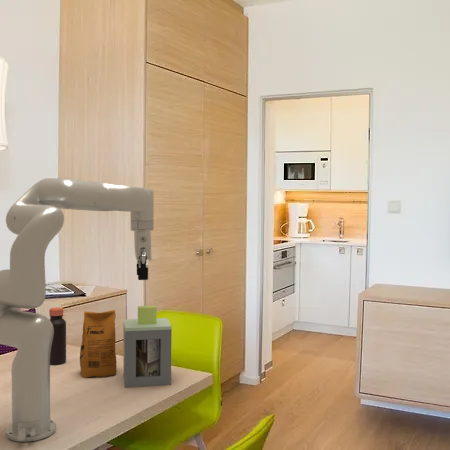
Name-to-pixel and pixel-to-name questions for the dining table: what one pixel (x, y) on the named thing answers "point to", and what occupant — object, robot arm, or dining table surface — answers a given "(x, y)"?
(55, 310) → the bottle
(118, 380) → the dining table surface
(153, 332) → the crate
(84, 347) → the coffee package
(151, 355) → the coffee box
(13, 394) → the robot arm
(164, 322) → the lid
